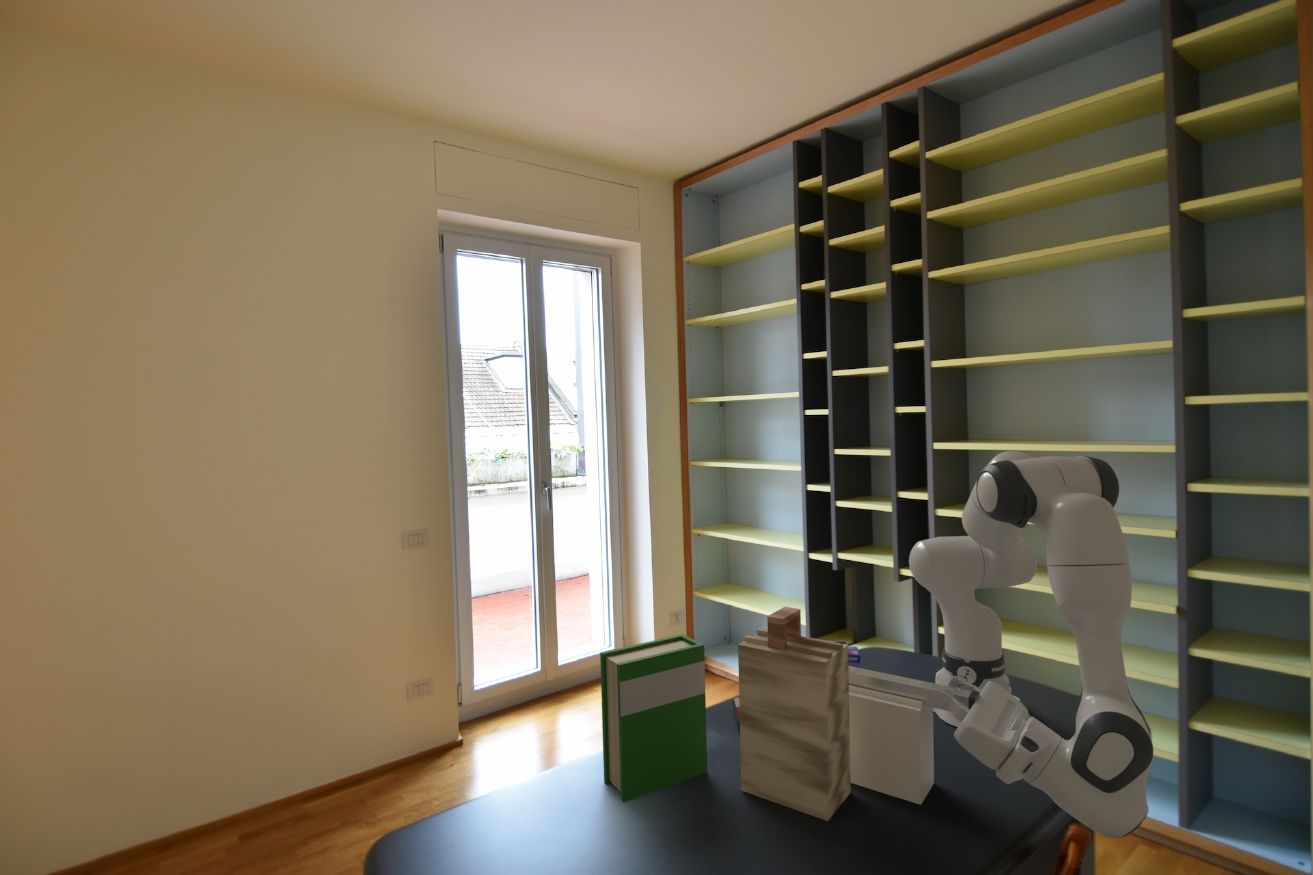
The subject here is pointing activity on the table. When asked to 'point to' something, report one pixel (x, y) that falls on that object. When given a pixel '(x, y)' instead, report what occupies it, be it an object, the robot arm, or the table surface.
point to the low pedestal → (891, 744)
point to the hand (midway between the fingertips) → (946, 686)
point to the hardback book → (653, 715)
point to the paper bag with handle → (794, 717)
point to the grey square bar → (909, 688)
